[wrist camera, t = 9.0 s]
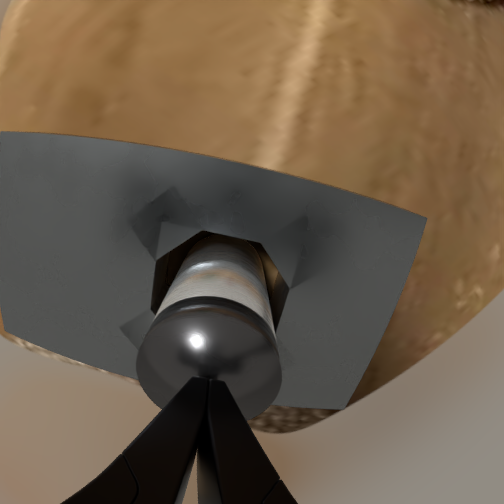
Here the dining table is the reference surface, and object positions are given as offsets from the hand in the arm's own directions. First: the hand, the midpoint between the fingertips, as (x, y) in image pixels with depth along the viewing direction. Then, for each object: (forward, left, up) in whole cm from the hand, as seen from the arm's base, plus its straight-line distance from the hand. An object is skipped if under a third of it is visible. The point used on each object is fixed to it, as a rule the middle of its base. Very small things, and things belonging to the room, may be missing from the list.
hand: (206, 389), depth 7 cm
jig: (+2, 0, -8) cm, 9 cm away
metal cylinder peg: (0, 0, -8) cm, 8 cm away
